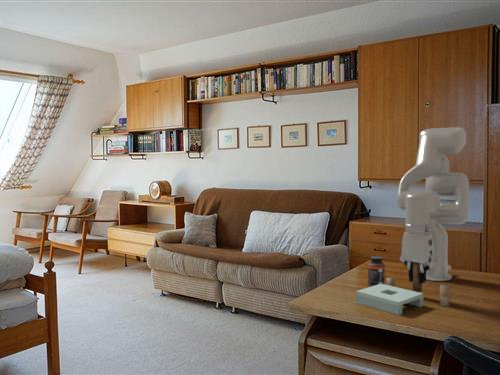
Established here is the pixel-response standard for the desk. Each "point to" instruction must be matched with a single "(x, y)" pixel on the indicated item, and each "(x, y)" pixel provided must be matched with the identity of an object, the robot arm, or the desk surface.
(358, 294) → the hole board
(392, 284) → the short pin
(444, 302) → the medium pin
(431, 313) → the desk surface
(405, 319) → the desk surface
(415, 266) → the long pin
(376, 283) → the supplement bottle
